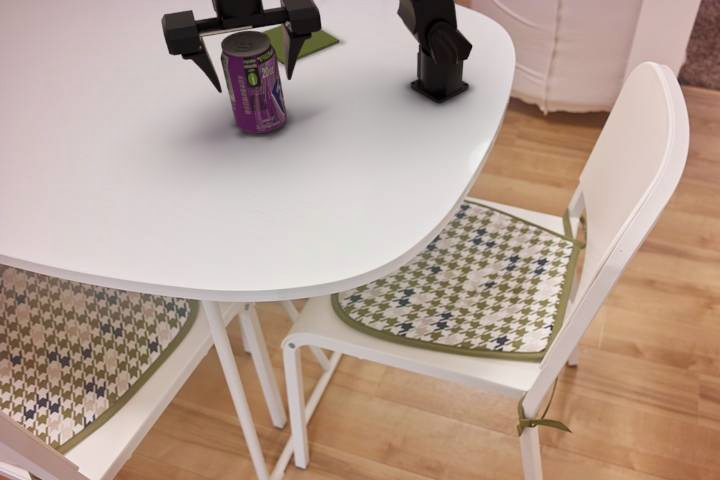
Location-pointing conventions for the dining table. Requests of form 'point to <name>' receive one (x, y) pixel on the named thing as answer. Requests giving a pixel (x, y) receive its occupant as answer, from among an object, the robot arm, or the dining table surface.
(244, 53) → the beverage can
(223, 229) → the dining table surface
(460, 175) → the dining table surface
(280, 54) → the mat
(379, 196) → the dining table surface
